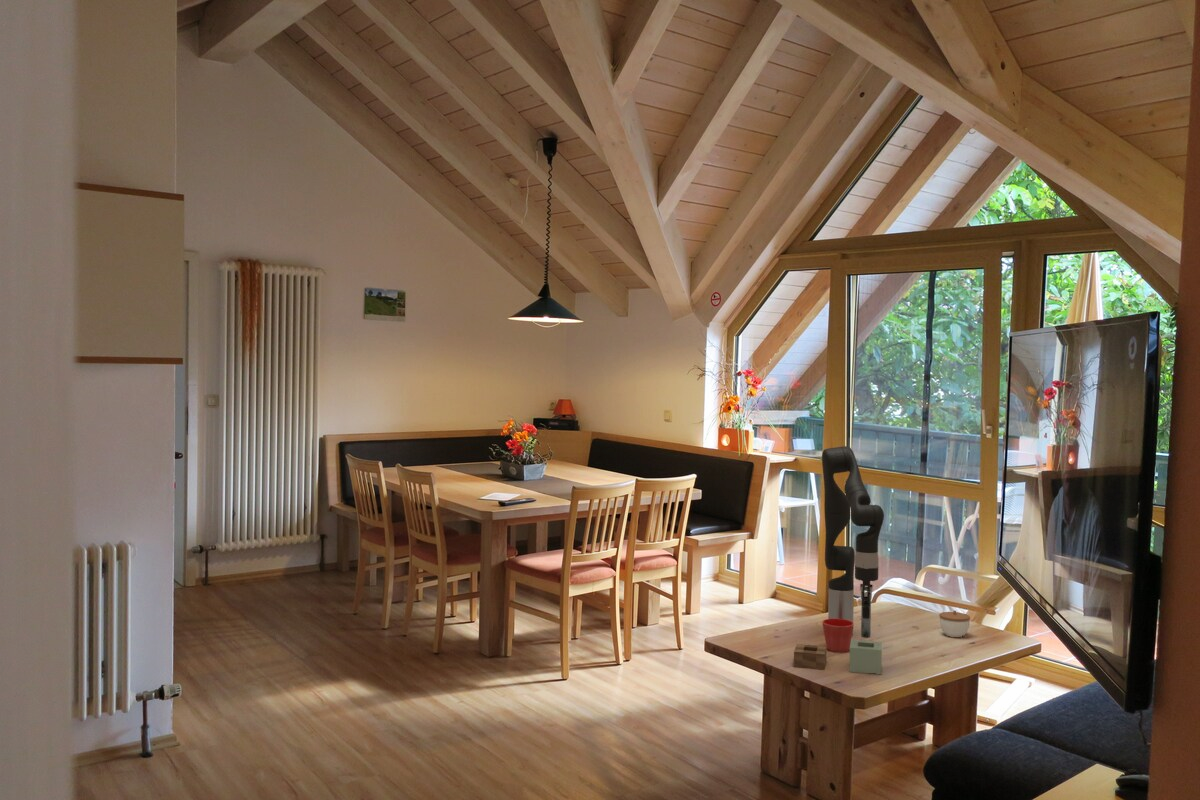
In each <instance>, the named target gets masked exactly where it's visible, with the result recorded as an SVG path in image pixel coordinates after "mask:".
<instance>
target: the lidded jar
mask: <svg viewBox="0 0 1200 800" xmlns="http://www.w3.org/2000/svg"><path fill="white" fill-rule="evenodd" d="M970 619H971V617H970V615H969V614H967V613H964V612H957V611H956V610H952V611H943V612H939V625H940V629H941V631H942V632H943V633H944V634H945V636H946V635H947V636H946V637H948V636H950V638H953V637H961V638H963V637H964V636H965V635H966V634H967V633H968V631H969V627H970ZM962 636H963V637H962Z"/></svg>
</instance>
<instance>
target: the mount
mask: <svg viewBox="0 0 1200 800" xmlns="http://www.w3.org/2000/svg"><path fill="white" fill-rule="evenodd" d="M827 650H828V649H827V646H826V645H815V644H805V643H804V644H803V643H796V645H795V647H794V651H793V667H794V668H804V669H817V670H826V669H825V668H826V664H827Z"/></svg>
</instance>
